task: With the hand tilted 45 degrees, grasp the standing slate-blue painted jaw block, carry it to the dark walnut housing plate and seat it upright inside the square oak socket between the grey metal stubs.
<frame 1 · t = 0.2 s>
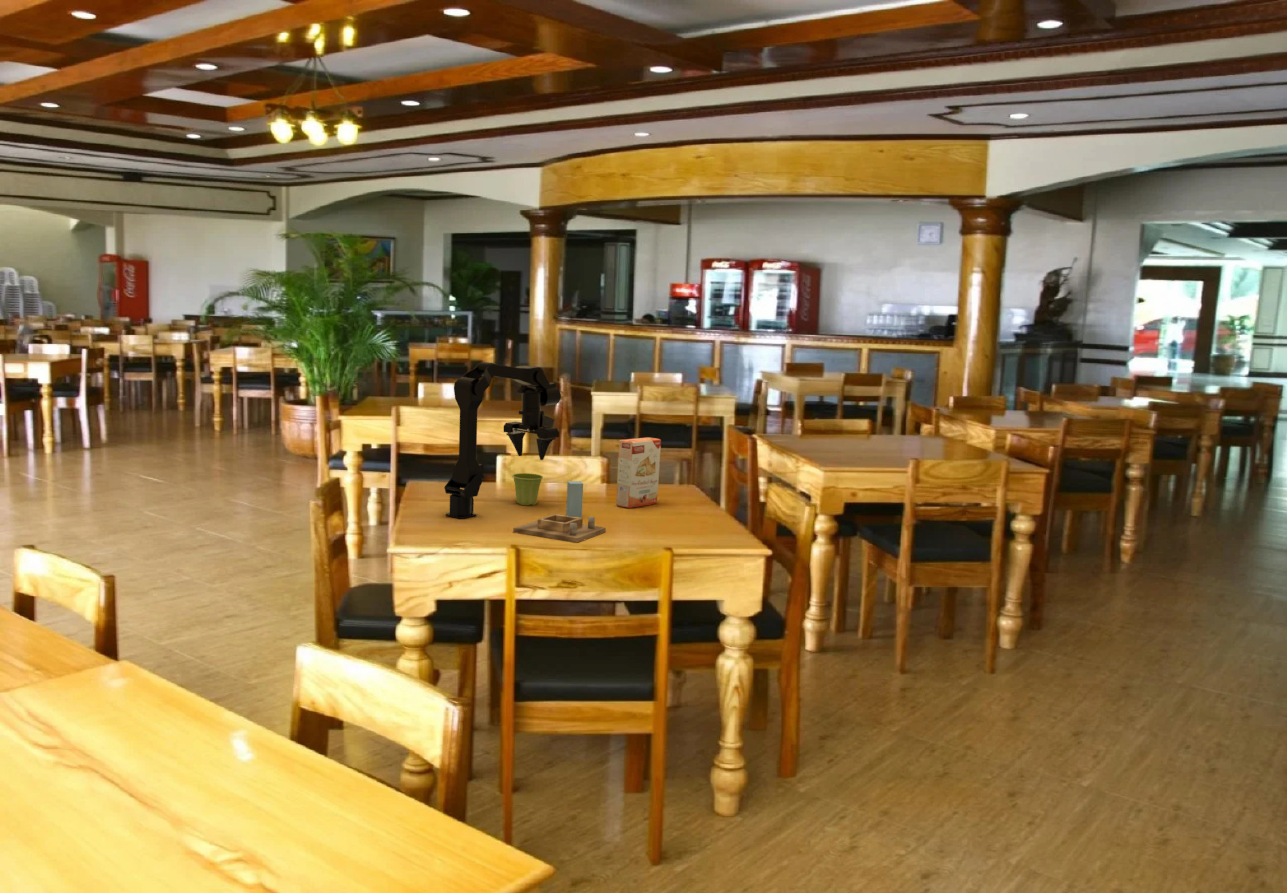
hand: (530, 457, 330), 14 cm above the table, tool pointing down, fingers open, 9 cm apart
plant pot: (526, 504, 333), on the table
cracker box: (637, 505, 339), on the table
jaw block: (573, 515, 318), on the table
housing: (559, 532, 296), on the table
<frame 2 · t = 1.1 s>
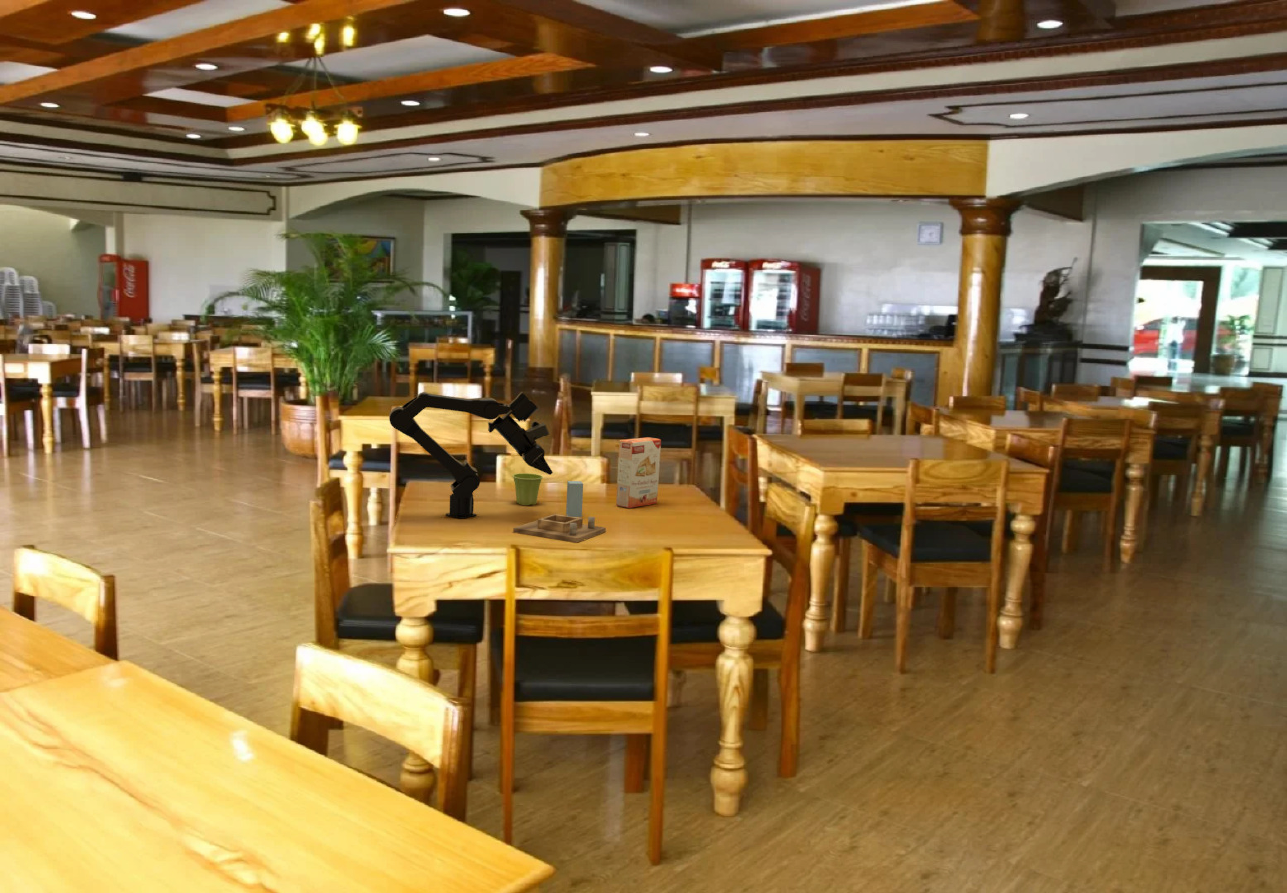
hand: (548, 470, 314), 13 cm above the table, tool tilted 45°, fingers open, 9 cm apart
nothing on the table moved.
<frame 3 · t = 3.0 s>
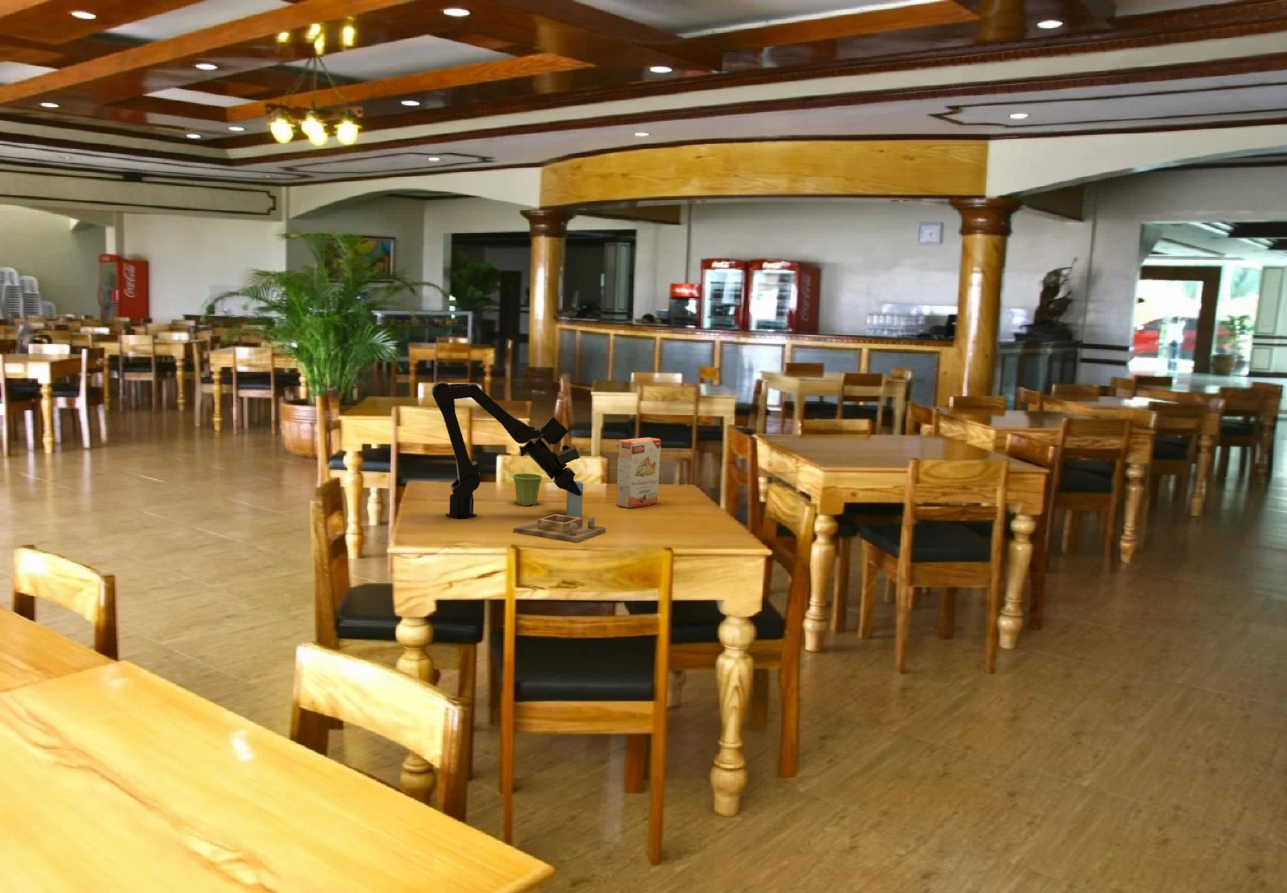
hand: (579, 493, 317), 7 cm above the table, tool tilted 45°, fingers closed on jaw block, 4 cm apart
jaw block: (574, 515, 318), on the table, touching gripper
everything else where it was.
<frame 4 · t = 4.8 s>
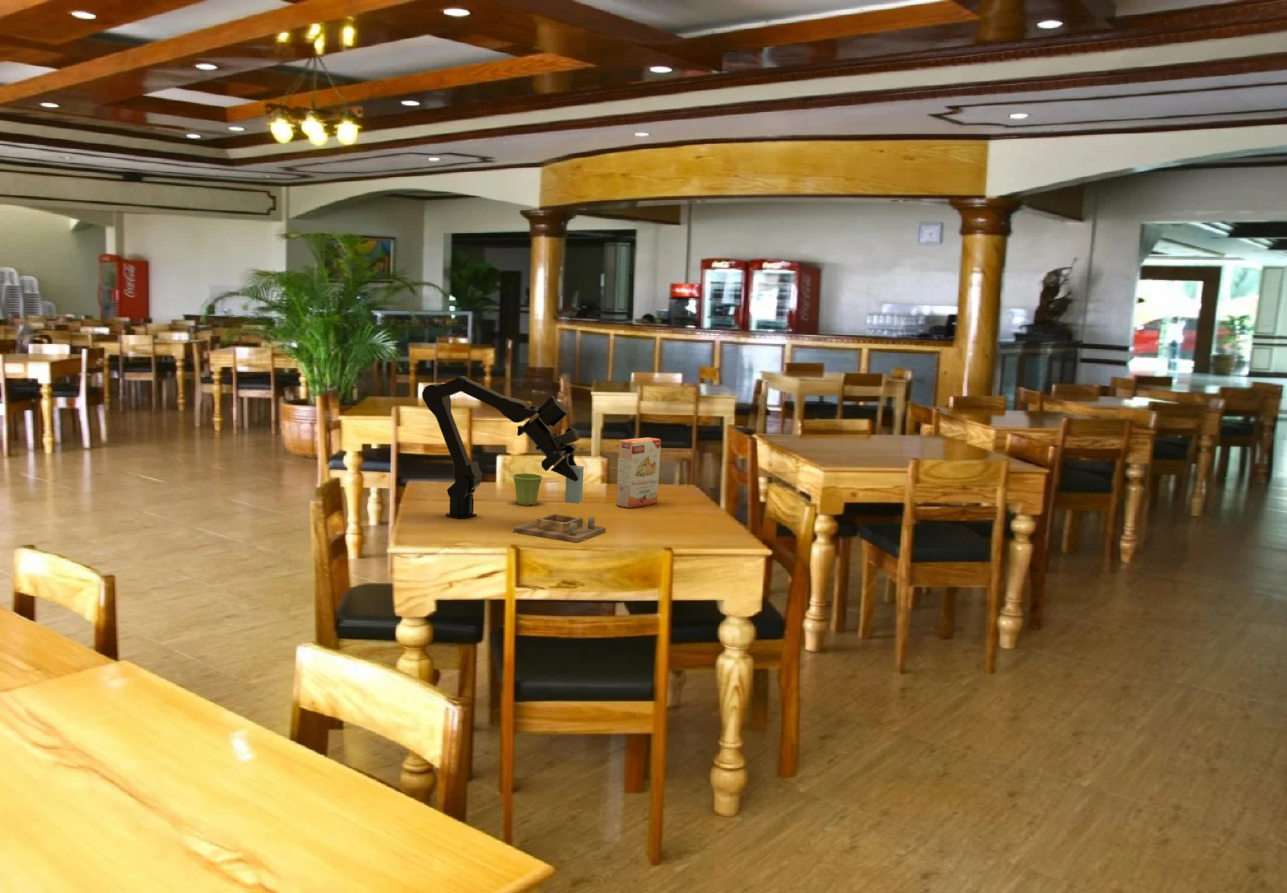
hand: (579, 479, 302), 13 cm above the table, tool tilted 45°, fingers closed on jaw block, 4 cm apart
jaw block: (573, 501, 304), point 7 cm above the table, touching gripper
everything else where it was.
when the fingers open (9 cm above the table, at t = 6.5 s): jaw block drops 1 cm, resting on housing.
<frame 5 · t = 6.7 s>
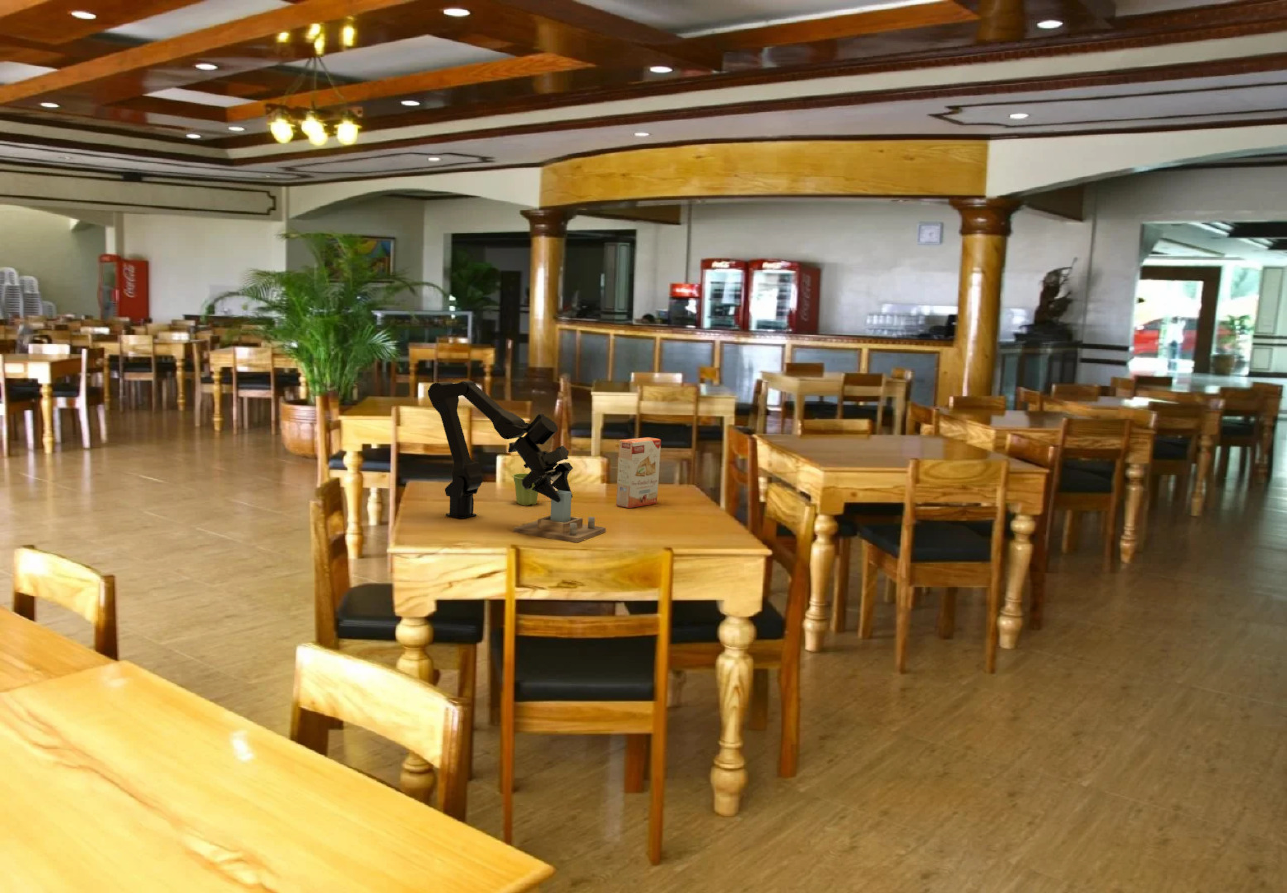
hand: (565, 499, 294), 9 cm above the table, tool tilted 45°, fingers open, 6 cm apart
jaw block: (560, 527, 296), point 1 cm above the table, touching housing
everything else where it was.
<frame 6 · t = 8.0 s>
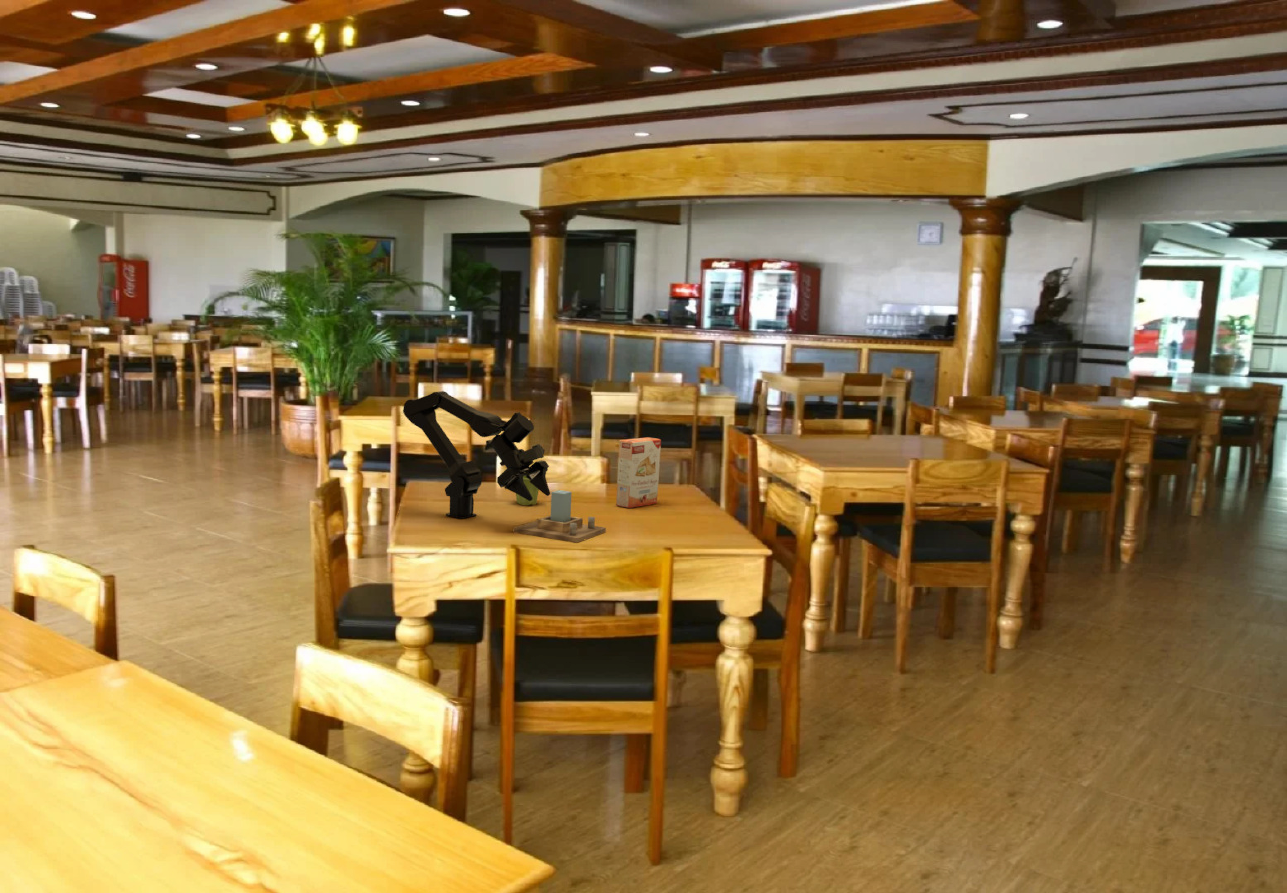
hand: (540, 497, 297), 9 cm above the table, tool tilted 45°, fingers open, 9 cm apart
nothing on the table moved.
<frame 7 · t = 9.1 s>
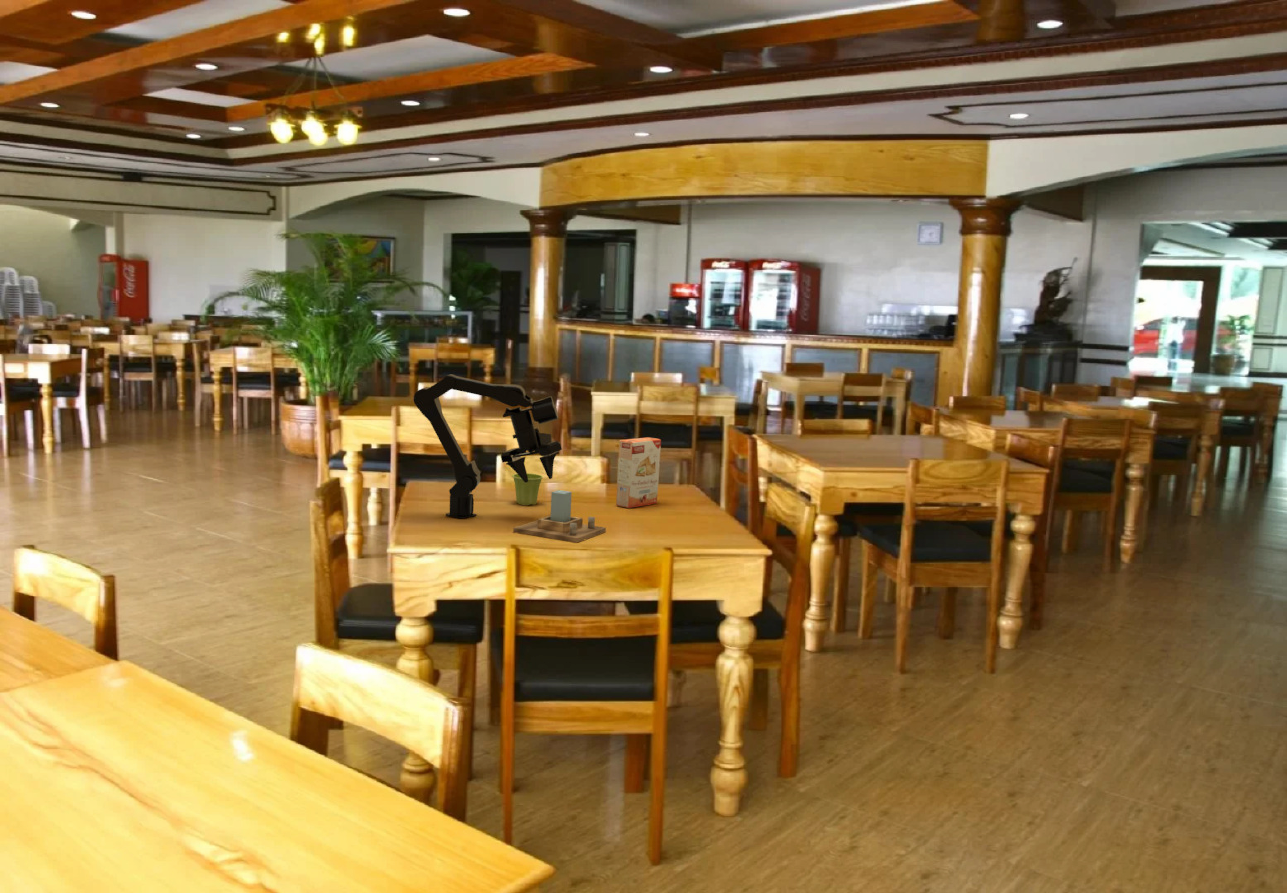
hand: (538, 480, 309), 11 cm above the table, tool tilted 20°, fingers open, 9 cm apart
nothing on the table moved.
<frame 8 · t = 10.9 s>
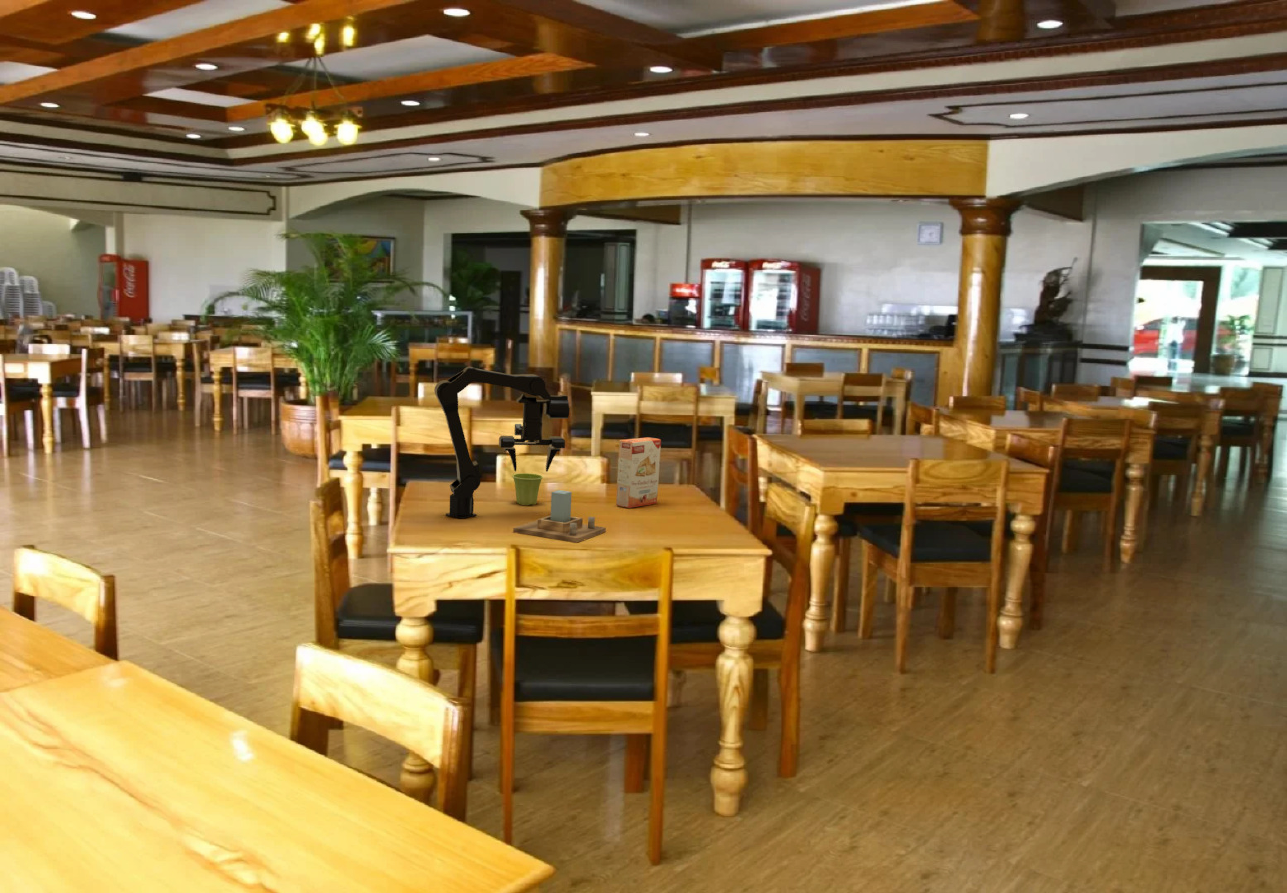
hand: (531, 471, 314), 13 cm above the table, tool pointing down, fingers open, 9 cm apart
nothing on the table moved.
at the end: jaw block 0.1 cm off-centre on the housing, point 1.2 cm above the housing's base; jaw block tilted 0°; the gripper is holding nothing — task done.
